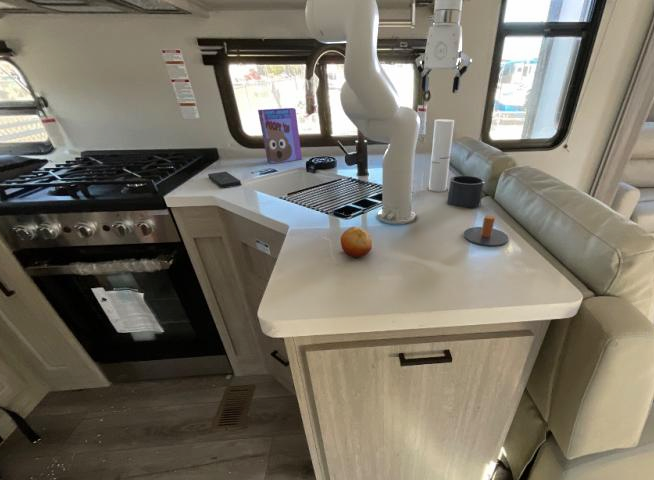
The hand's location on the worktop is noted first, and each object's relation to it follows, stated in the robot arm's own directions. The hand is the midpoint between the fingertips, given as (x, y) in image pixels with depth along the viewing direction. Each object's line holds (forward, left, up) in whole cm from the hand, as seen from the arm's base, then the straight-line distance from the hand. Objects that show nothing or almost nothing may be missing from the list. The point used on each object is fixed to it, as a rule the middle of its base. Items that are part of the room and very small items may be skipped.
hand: (439, 92), depth 101 cm
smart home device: (-21, +87, -35) cm, 96 cm away
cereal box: (+22, +92, -35) cm, 101 cm away
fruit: (-50, 0, -35) cm, 61 cm away
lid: (-23, -27, -34) cm, 49 cm away
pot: (+4, -12, -34) cm, 37 cm away
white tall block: (+16, +3, -35) cm, 38 cm away
